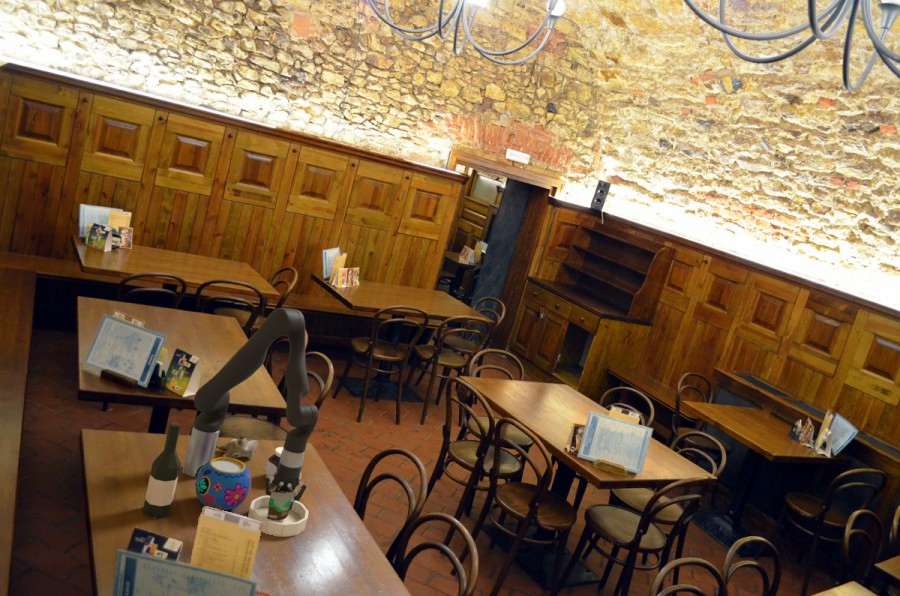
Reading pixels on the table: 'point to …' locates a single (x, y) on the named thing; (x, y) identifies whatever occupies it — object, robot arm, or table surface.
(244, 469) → the ceramic pot
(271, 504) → the food container
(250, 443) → the ceramic sculpture
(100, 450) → the table surface
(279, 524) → the bowl
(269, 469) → the spread jar
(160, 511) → the wine bottle
